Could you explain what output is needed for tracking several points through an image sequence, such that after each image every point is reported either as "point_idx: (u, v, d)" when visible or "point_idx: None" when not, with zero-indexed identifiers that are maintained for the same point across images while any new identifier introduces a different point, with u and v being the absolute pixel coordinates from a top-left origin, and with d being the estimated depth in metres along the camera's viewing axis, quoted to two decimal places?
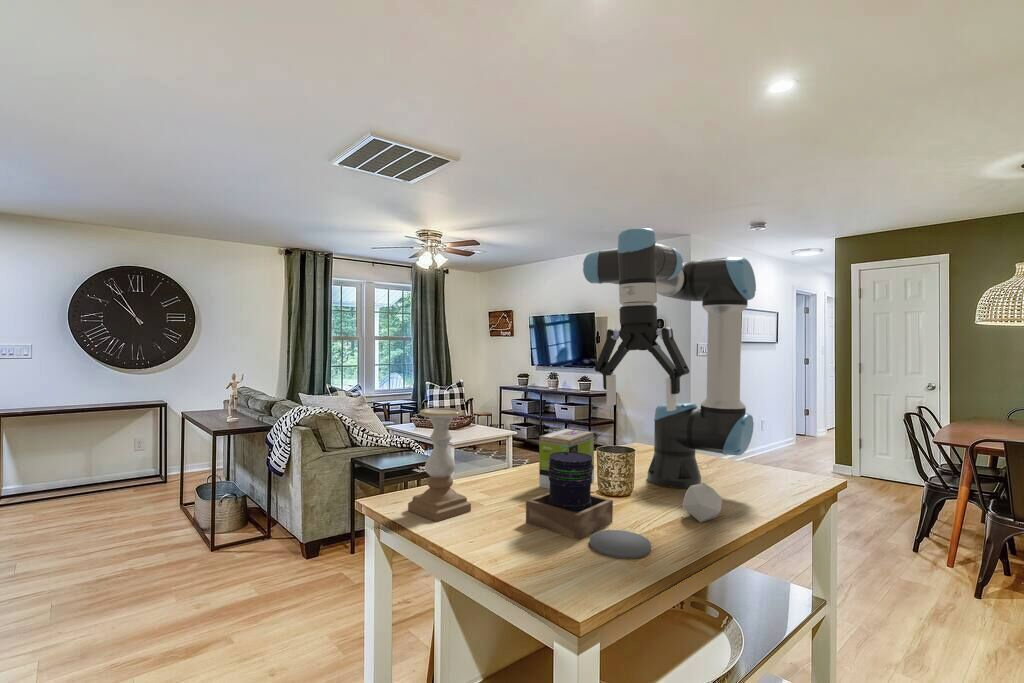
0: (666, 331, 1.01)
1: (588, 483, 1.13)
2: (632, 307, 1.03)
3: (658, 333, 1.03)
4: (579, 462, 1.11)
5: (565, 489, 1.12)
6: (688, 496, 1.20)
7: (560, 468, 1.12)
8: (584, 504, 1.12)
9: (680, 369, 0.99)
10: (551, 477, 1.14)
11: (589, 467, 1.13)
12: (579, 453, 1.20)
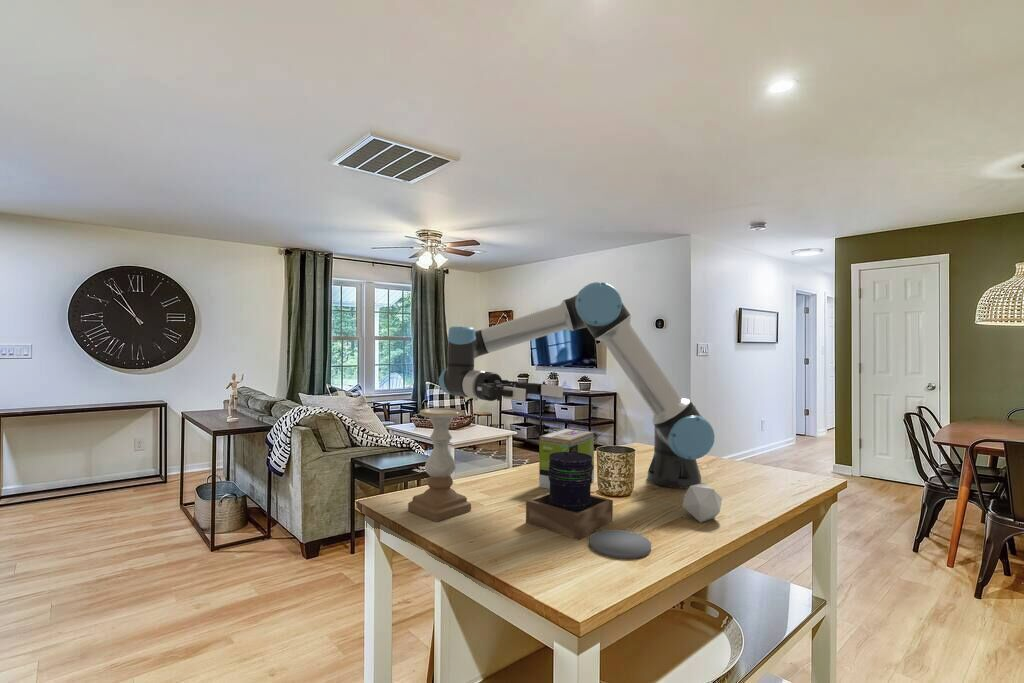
0: (478, 393, 1.28)
1: (588, 483, 1.13)
2: None
3: None
4: (579, 462, 1.11)
5: (565, 489, 1.12)
6: (688, 496, 1.20)
7: (560, 468, 1.12)
8: (584, 504, 1.12)
9: None
10: (551, 477, 1.14)
11: (589, 467, 1.13)
12: (579, 453, 1.20)
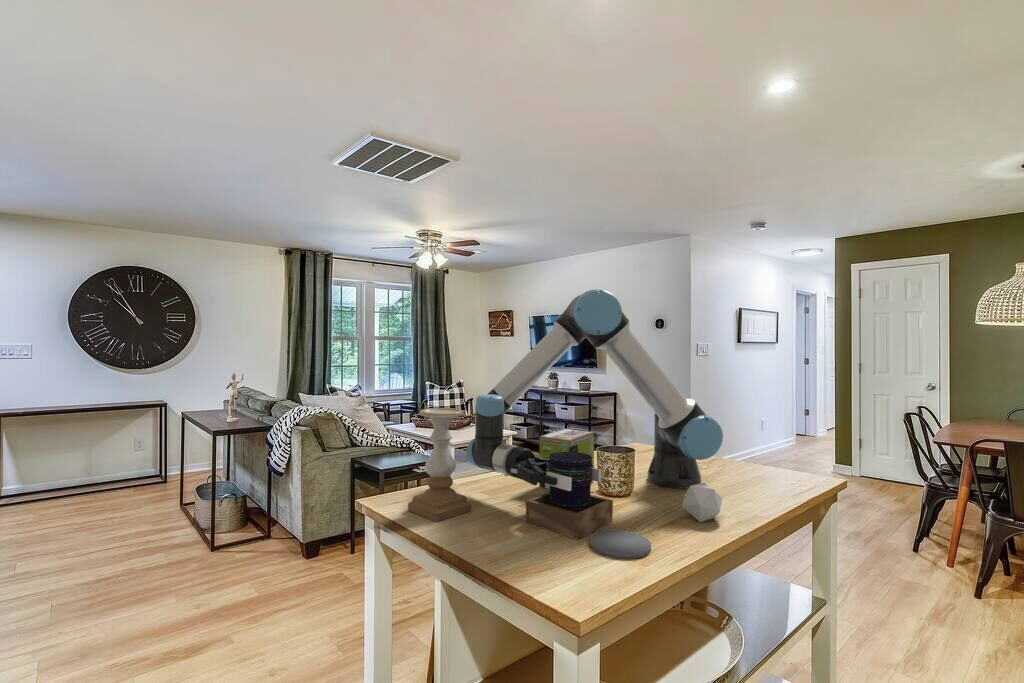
0: None
1: (588, 483, 1.13)
2: None
3: None
4: (579, 462, 1.11)
5: None
6: (688, 496, 1.20)
7: (560, 468, 1.12)
8: (584, 503, 1.12)
9: None
10: None
11: (589, 467, 1.13)
12: (579, 453, 1.20)
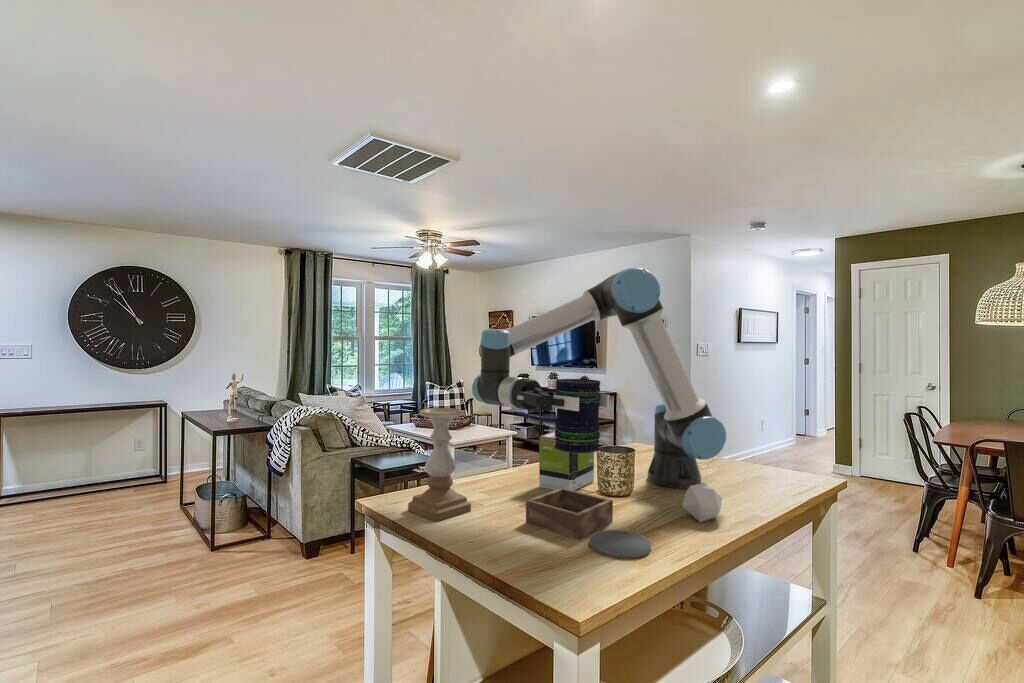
0: (519, 402, 1.17)
1: (596, 406, 1.10)
2: None
3: None
4: (587, 383, 1.09)
5: (572, 411, 1.09)
6: (688, 496, 1.20)
7: (567, 390, 1.09)
8: (592, 426, 1.09)
9: None
10: None
11: (597, 389, 1.10)
12: (587, 380, 1.17)
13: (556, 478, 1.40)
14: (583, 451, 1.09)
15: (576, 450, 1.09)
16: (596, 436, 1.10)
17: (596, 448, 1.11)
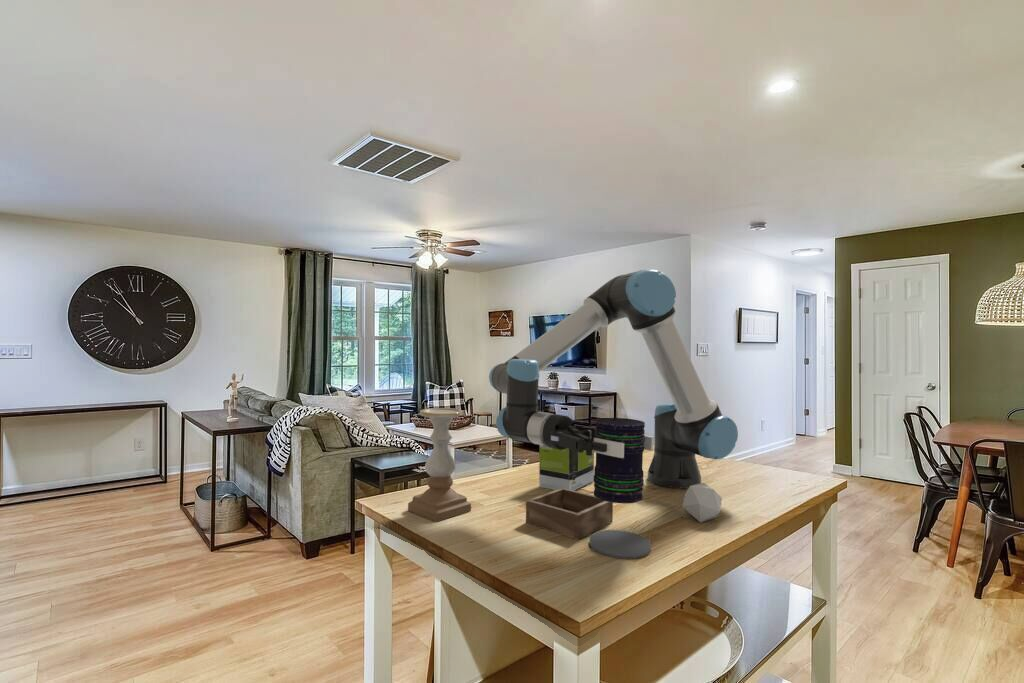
0: (553, 443, 1.07)
1: (641, 451, 1.00)
2: None
3: None
4: (632, 426, 0.98)
5: (615, 457, 0.99)
6: (688, 496, 1.20)
7: (610, 433, 0.99)
8: (637, 473, 0.99)
9: None
10: None
11: (642, 433, 1.00)
12: (628, 419, 1.07)
13: (556, 478, 1.40)
14: (627, 501, 0.98)
15: (619, 500, 0.98)
16: (641, 484, 1.00)
17: (640, 497, 1.00)
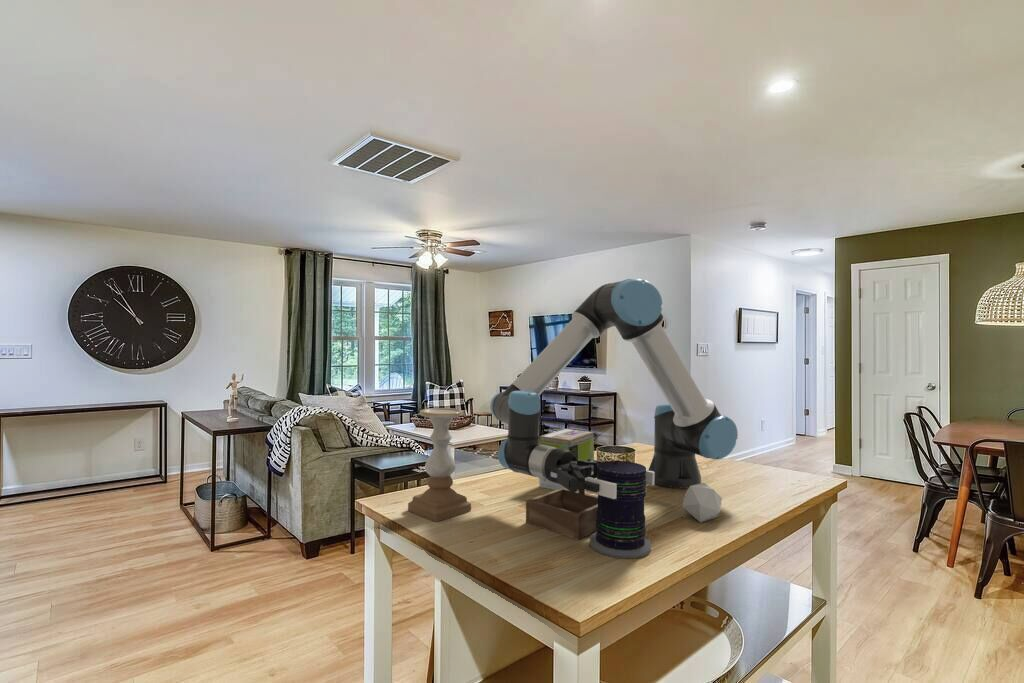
0: (552, 479, 1.08)
1: (643, 497, 1.00)
2: None
3: None
4: (633, 473, 0.99)
5: (617, 504, 0.99)
6: (688, 496, 1.20)
7: (612, 480, 0.99)
8: (639, 520, 1.00)
9: None
10: None
11: (644, 479, 1.00)
12: (629, 462, 1.07)
13: None
14: (629, 548, 0.99)
15: (621, 547, 0.99)
16: (643, 530, 1.00)
17: (642, 543, 1.01)
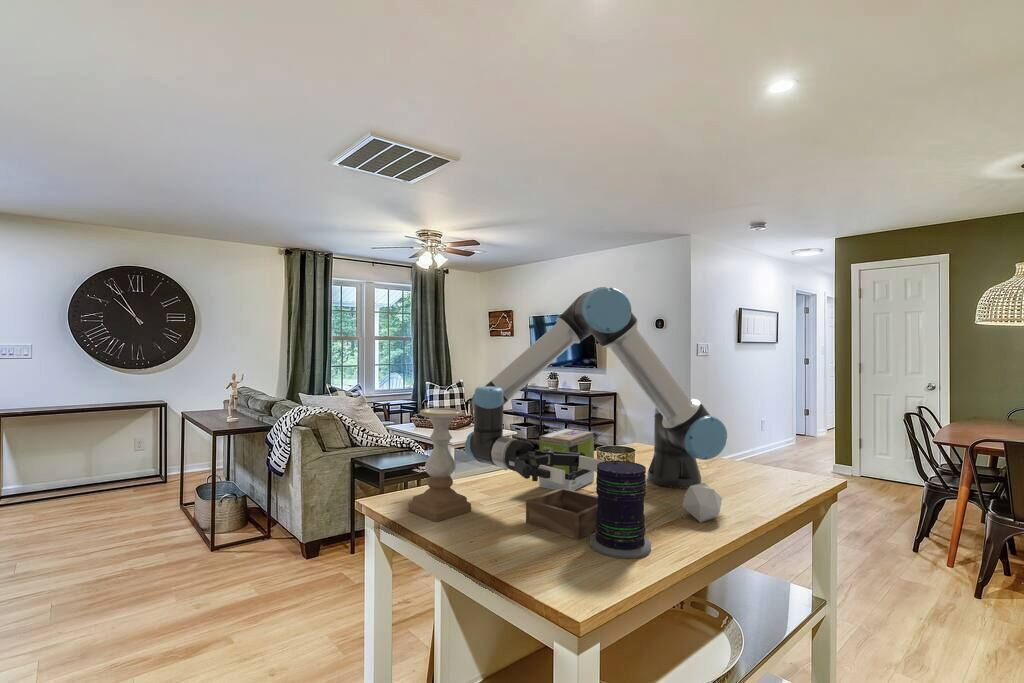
0: None
1: (642, 497, 1.00)
2: None
3: None
4: (633, 473, 0.99)
5: (617, 504, 0.99)
6: (688, 496, 1.20)
7: (611, 480, 0.99)
8: (639, 520, 1.00)
9: None
10: (600, 490, 1.01)
11: (643, 479, 1.00)
12: (629, 462, 1.07)
13: None
14: (629, 548, 0.99)
15: (621, 547, 0.99)
16: (643, 530, 1.00)
17: (642, 543, 1.01)
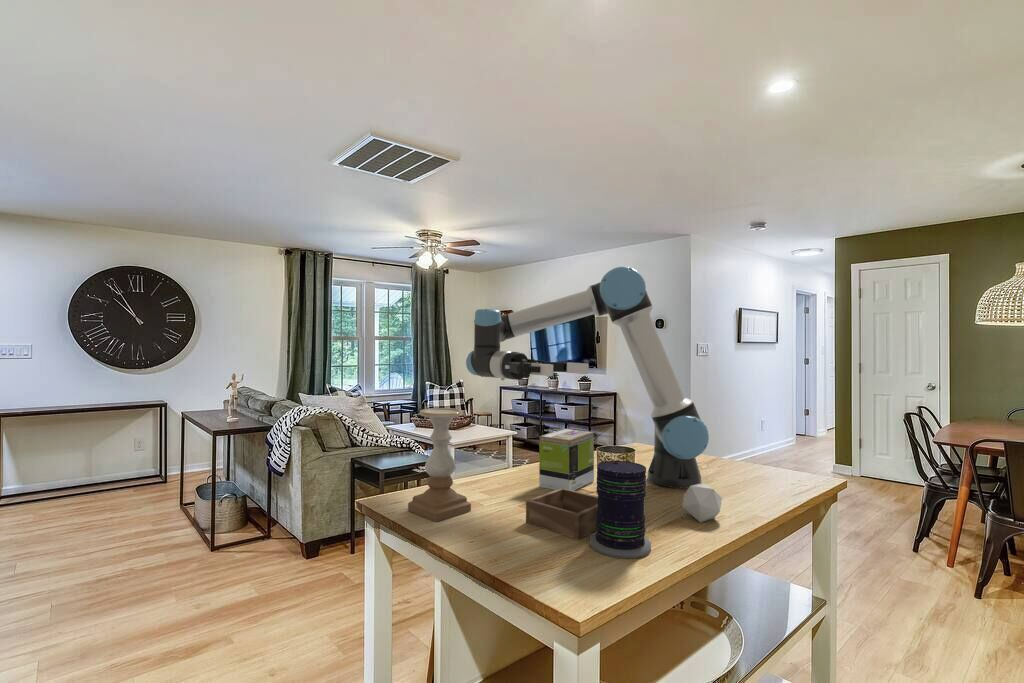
0: None
1: (643, 497, 1.00)
2: None
3: None
4: (633, 473, 0.99)
5: (617, 504, 0.99)
6: (688, 496, 1.20)
7: (611, 480, 0.99)
8: (639, 520, 1.00)
9: (519, 373, 1.25)
10: (600, 490, 1.02)
11: (644, 478, 1.01)
12: (629, 462, 1.07)
13: (556, 478, 1.40)
14: (629, 548, 0.99)
15: (621, 547, 0.99)
16: (643, 530, 1.00)
17: (642, 543, 1.01)
